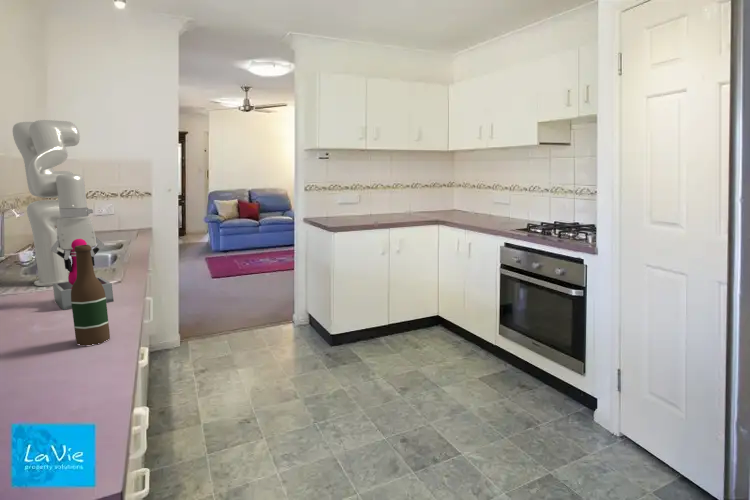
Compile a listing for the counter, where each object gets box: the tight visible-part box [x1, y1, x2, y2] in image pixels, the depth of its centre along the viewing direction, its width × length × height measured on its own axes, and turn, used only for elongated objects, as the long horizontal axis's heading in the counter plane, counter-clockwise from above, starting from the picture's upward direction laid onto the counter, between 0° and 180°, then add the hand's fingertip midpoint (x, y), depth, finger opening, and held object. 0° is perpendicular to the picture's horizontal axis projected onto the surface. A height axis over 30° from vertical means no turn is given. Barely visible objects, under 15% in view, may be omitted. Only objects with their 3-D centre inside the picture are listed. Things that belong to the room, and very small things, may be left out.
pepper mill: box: [68, 239, 87, 289], centre depth 153 cm, size 7×7×20 cm
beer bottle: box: [71, 245, 111, 346], centre depth 116 cm, size 8×8×24 cm
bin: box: [52, 276, 114, 311], centre depth 155 cm, size 14×14×6 cm
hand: (80, 269), depth 154 cm, fingers closed on pepper mill, 5 cm apart
